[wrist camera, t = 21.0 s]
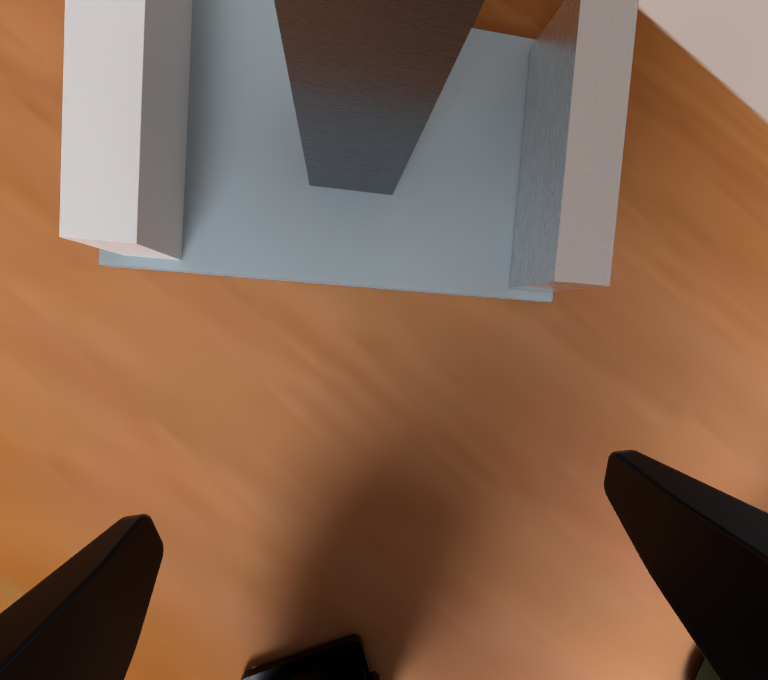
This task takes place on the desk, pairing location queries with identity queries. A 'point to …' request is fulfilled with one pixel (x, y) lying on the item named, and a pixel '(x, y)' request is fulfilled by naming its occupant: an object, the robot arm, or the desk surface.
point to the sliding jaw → (573, 147)
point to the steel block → (368, 81)
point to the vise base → (276, 158)
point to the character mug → (706, 672)
